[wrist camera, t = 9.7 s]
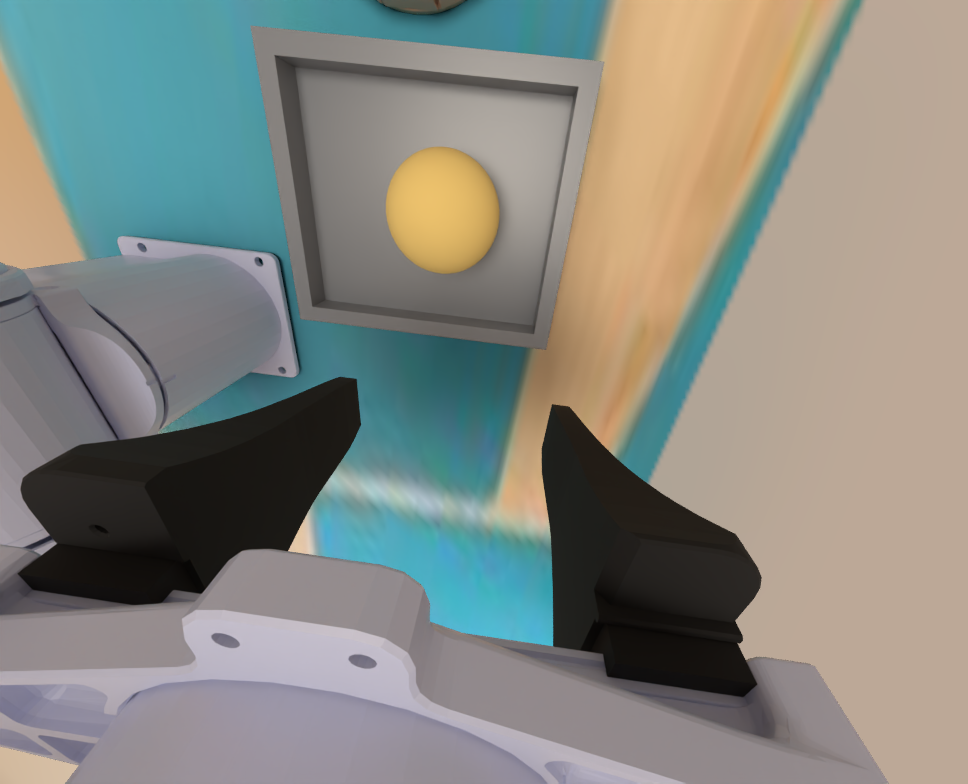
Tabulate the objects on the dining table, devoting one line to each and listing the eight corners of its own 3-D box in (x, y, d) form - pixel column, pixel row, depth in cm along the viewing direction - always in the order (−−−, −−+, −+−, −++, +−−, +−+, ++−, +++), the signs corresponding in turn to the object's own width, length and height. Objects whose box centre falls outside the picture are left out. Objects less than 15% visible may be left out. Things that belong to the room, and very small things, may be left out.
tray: (320, 307, 22) (300, 318, 20) (284, 47, 16) (250, 25, 14) (543, 335, 21) (546, 349, 19) (593, 79, 15) (604, 61, 13)
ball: (403, 261, 19) (377, 280, 14) (397, 150, 16) (363, 132, 12) (494, 267, 19) (496, 287, 15) (502, 157, 16) (506, 141, 12)
